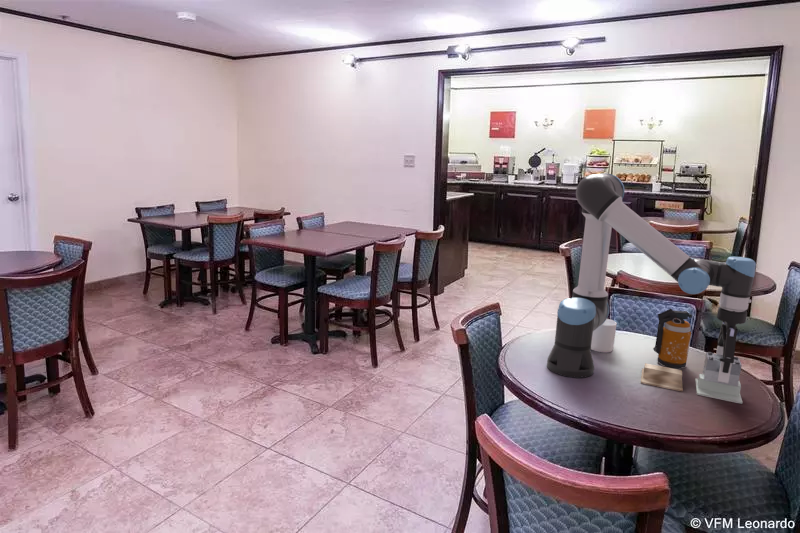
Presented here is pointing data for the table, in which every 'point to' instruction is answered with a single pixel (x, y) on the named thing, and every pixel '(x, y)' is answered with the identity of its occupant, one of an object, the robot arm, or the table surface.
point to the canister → (673, 338)
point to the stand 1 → (662, 377)
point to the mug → (604, 337)
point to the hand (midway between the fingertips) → (720, 373)
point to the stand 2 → (718, 390)
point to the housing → (713, 369)
